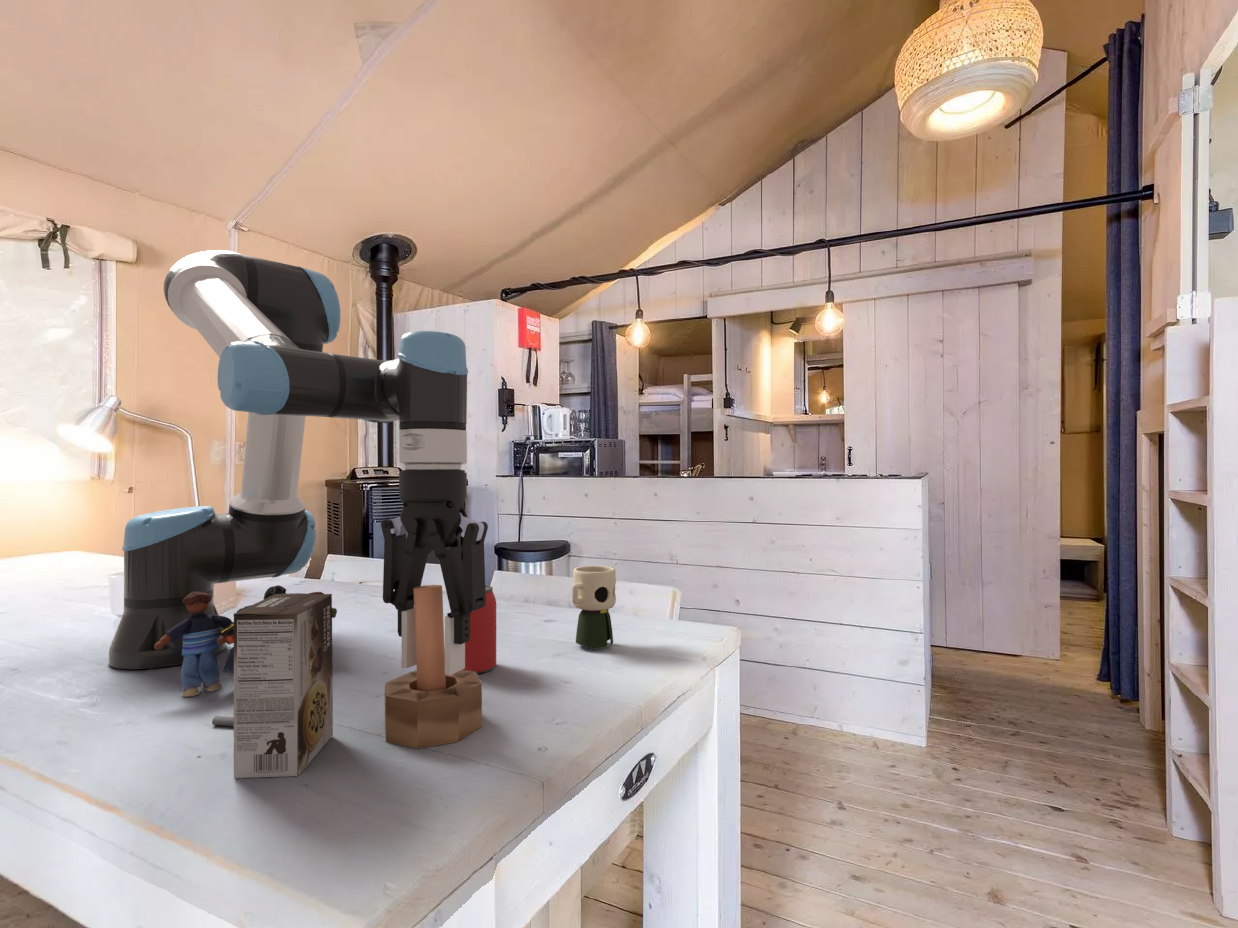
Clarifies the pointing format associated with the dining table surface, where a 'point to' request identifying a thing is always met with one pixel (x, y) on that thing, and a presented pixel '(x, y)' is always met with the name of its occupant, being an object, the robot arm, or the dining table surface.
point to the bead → (432, 710)
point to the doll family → (206, 642)
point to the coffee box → (282, 684)
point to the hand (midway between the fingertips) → (433, 667)
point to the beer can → (482, 636)
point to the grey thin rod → (223, 721)
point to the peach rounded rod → (429, 638)
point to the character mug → (594, 604)
